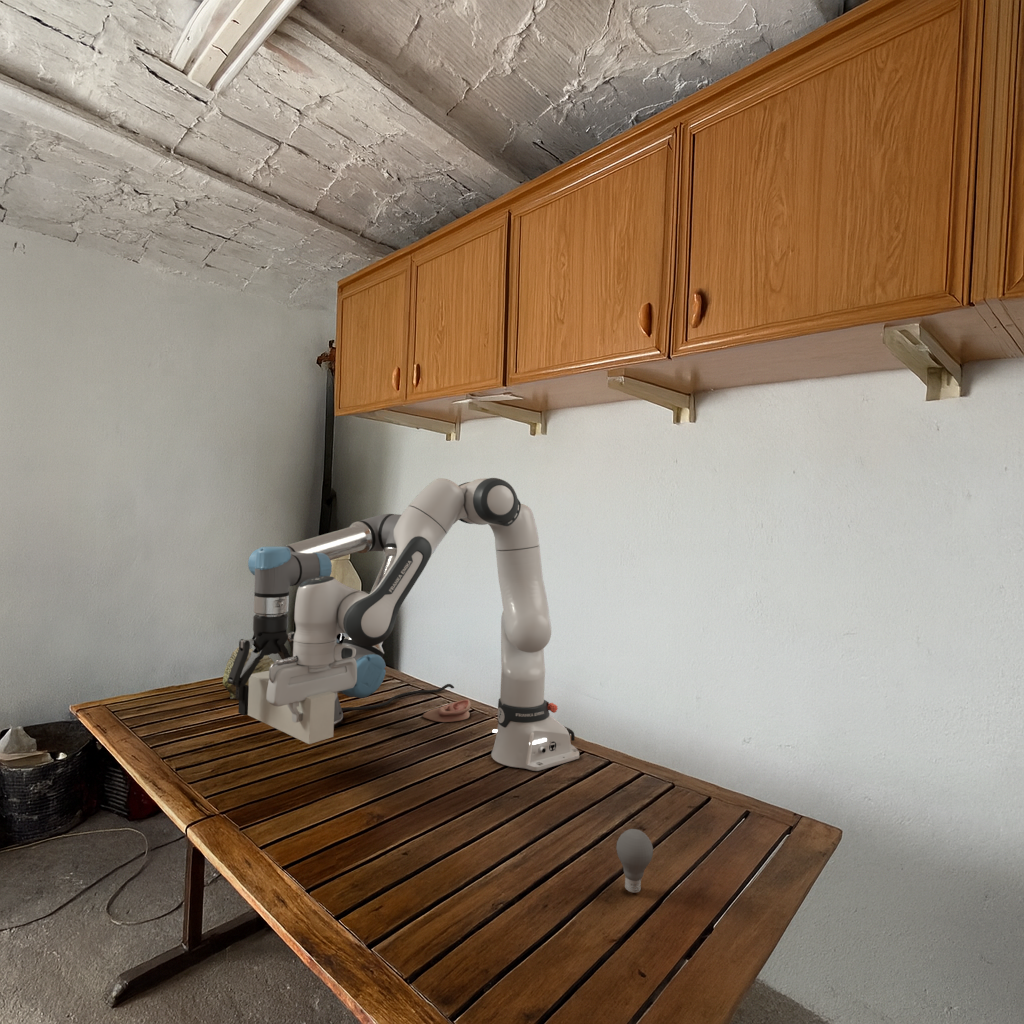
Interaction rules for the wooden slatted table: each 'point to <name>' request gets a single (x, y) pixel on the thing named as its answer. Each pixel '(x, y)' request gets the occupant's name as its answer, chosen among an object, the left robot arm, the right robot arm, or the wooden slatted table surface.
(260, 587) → the left robot arm
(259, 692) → the bar
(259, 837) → the wooden slatted table surface
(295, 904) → the wooden slatted table surface
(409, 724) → the wooden slatted table surface
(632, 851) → the light bulb
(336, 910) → the wooden slatted table surface
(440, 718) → the anatomical model
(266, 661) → the fossil
